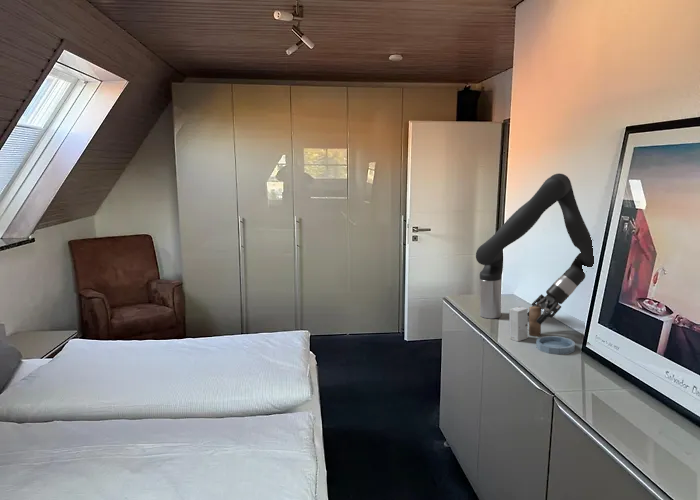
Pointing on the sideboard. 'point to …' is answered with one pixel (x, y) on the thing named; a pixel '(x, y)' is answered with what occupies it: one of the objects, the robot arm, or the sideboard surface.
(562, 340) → the slate dish
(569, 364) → the sideboard surface
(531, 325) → the walnut canister
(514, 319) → the skincare box
